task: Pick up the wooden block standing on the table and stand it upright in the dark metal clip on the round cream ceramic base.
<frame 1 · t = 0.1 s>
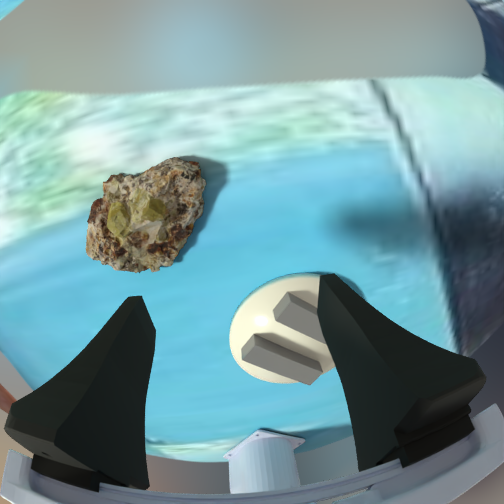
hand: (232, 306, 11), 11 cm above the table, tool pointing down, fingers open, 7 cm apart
mineral rock: (150, 212, 21), on the table
clip base: (296, 331, 25), on the table
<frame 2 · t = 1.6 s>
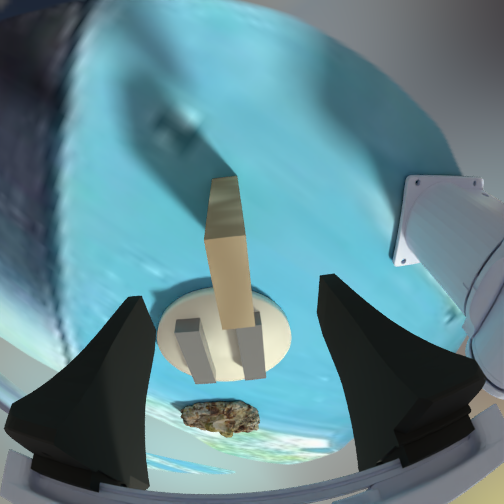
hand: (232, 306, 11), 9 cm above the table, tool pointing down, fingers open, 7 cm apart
mineral rock: (220, 409, 34), on the table
wooden block: (229, 212, 19), on the table
clip base: (223, 337, 25), on the table
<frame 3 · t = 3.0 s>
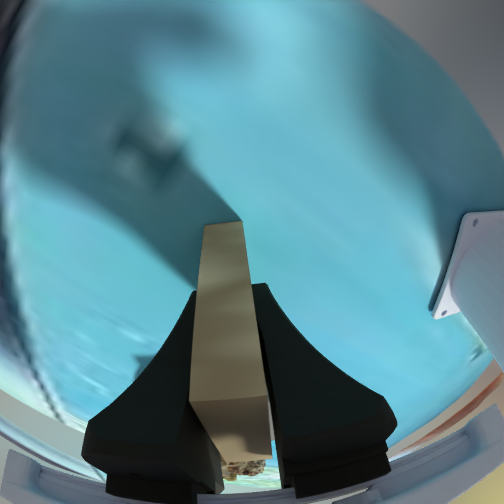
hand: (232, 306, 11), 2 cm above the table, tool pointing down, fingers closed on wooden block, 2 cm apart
mineral rock: (222, 452, 28), on the table
wooden block: (230, 271, 13), on the table, touching gripper
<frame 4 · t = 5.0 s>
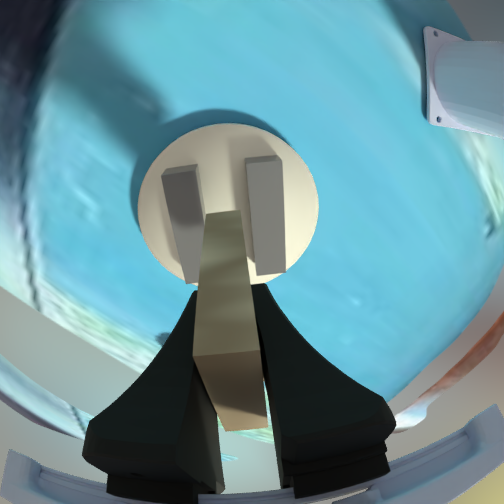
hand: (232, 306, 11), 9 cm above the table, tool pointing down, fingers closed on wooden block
wooden block: (229, 256, 14), point 6 cm above the table, touching gripper
clip base: (228, 211, 19), on the table
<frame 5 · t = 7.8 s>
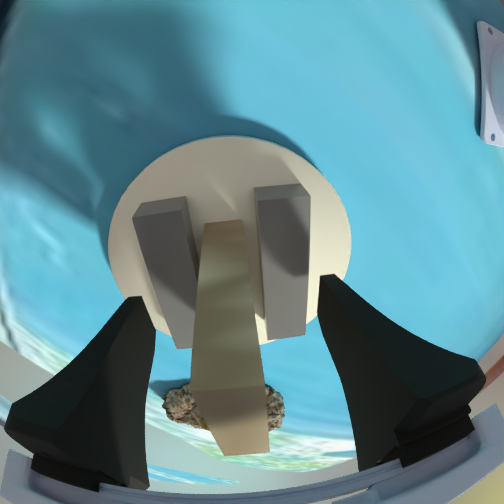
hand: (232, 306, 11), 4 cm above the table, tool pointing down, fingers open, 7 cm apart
mineral rock: (224, 396, 22), on the table
wooden block: (229, 268, 14), point 1 cm above the table, touching clip base
clip base: (229, 256, 14), on the table
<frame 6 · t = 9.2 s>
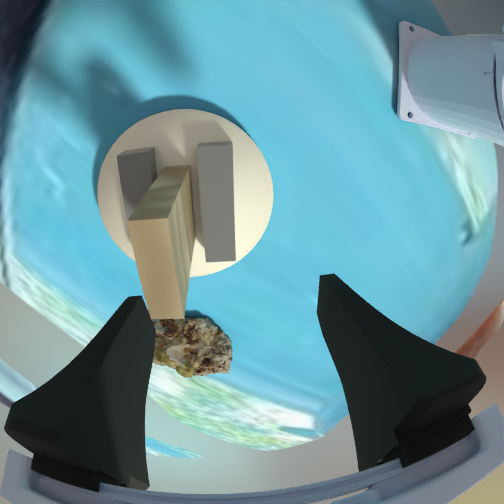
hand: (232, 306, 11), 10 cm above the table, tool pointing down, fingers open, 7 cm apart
mineral rock: (180, 336, 27), on the table
wooden block: (180, 202, 18), point 1 cm above the table, touching clip base
clip base: (183, 196, 19), on the table
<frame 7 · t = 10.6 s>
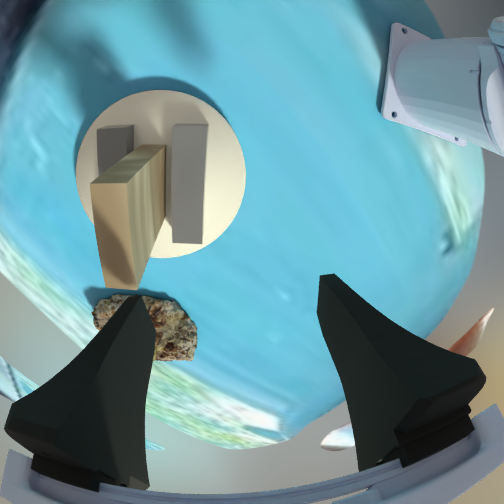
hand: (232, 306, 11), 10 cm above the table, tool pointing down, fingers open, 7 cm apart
mineral rock: (147, 318, 26), on the table
wooden block: (153, 181, 18), point 1 cm above the table, touching clip base
clip base: (157, 176, 18), on the table
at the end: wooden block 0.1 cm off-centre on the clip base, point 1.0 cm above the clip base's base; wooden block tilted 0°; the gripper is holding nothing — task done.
